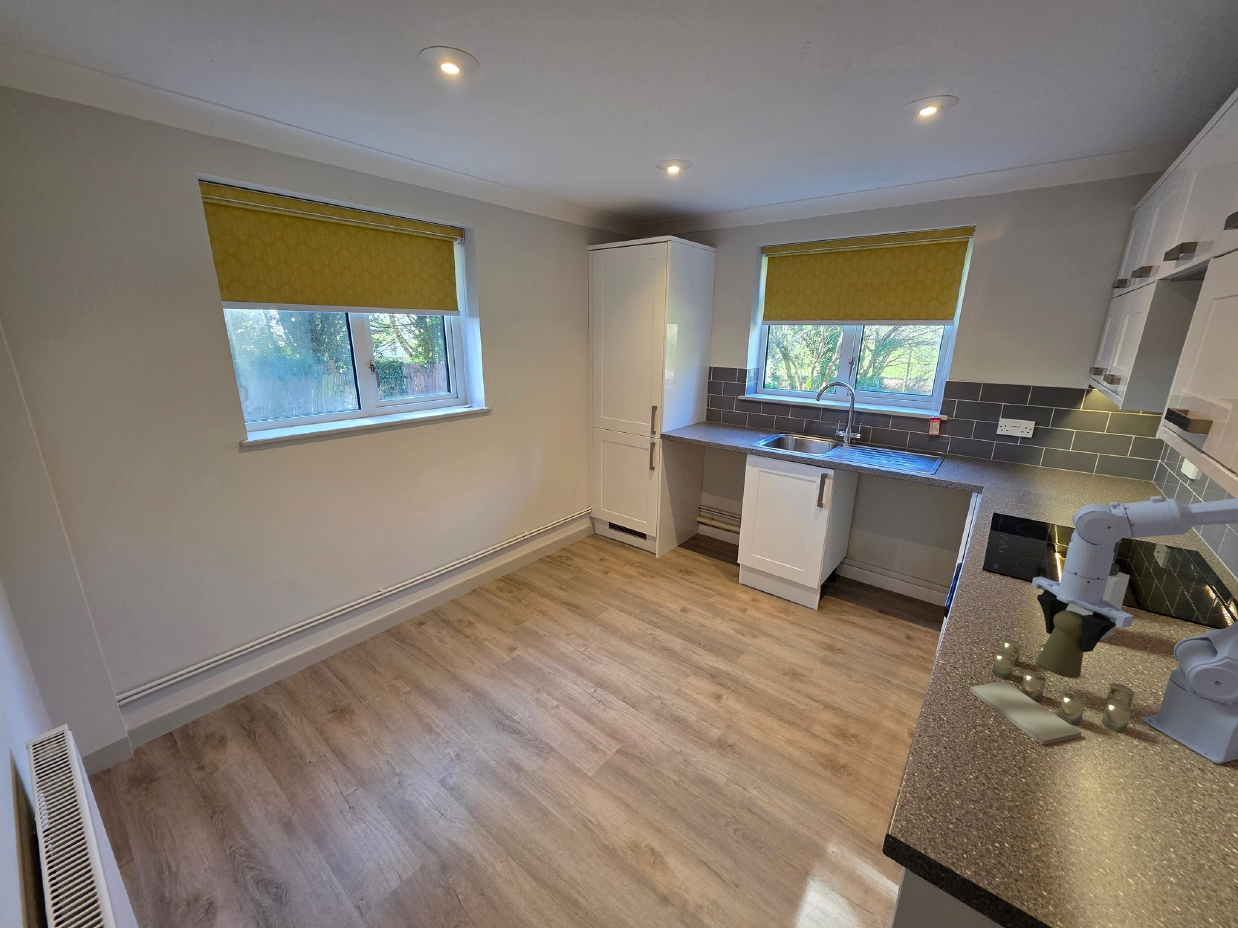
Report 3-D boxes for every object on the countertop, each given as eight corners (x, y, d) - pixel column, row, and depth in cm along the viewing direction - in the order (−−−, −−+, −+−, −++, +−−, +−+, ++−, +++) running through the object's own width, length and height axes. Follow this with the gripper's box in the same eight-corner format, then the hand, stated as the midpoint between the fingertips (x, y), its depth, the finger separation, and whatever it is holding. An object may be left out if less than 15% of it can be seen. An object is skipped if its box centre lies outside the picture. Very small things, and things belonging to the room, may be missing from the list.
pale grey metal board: (1080, 736, 80) (1081, 732, 80) (1042, 744, 78) (1043, 740, 78) (1003, 684, 92) (1004, 680, 92) (969, 690, 90) (969, 686, 90)
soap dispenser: (1065, 615, 116) (1086, 528, 111) (1113, 635, 108) (1138, 542, 103) (1049, 621, 113) (1070, 533, 108) (1098, 641, 106) (1122, 547, 100)
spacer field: (1155, 725, 82) (1161, 705, 81) (1089, 740, 79) (1095, 719, 78) (1028, 651, 102) (1032, 634, 101) (972, 661, 99) (975, 643, 98)
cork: (1088, 680, 86) (1107, 627, 83) (1048, 674, 88) (1065, 621, 85) (1067, 658, 92) (1084, 608, 89) (1030, 653, 93) (1045, 603, 90)
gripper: (1025, 557, 91) (1011, 622, 94) (1117, 594, 77) (1098, 669, 80) (1054, 554, 92) (1040, 618, 96) (1150, 590, 79) (1129, 663, 82)
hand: (1068, 641), depth 88 cm, fingers closed on cork, 5 cm apart
